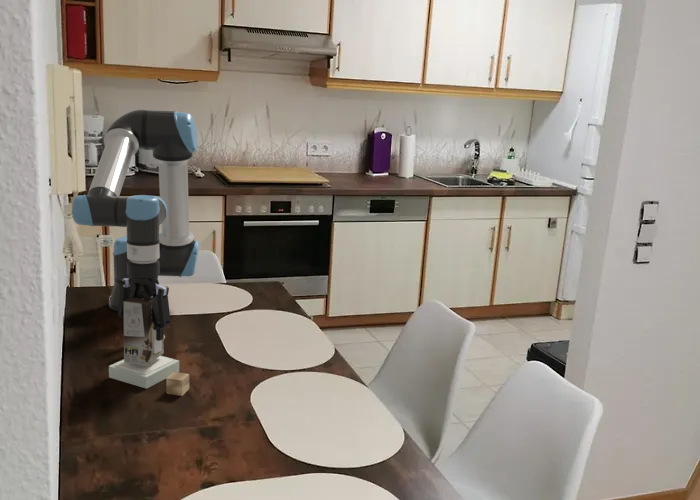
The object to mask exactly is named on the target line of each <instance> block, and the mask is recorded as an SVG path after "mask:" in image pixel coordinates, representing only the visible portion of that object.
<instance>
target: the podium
mask: <svg viewBox="0 0 700 500" xmlns="http://www.w3.org/2000/svg"><path fill="white" fill-rule="evenodd" d="M173 372H179V373H180V360H178V359H175V358H171V357H167V356H163V355H161V356H159V357H158V358H157V359H155V360H154V361H153V362H151V363H150V364H149V365H148V366H141V365H135V364H129V363H124V358H123V359H121V360H119V361H117V362H114V363H113V364H110V365H108V379H109V378H110V379H113V380H117V381H121V382H123V383H127V384H131V385H133V386H137V387H140V388H143V389H149V388H151V387H153V386H155V385H157V384H158V383H160V382H162V381H164V380H166V378H167V377H168V376H170V375H171V374H172V373H173Z"/></svg>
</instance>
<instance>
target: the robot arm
mask: <svg viewBox="0 0 700 500" xmlns="http://www.w3.org/2000/svg"><path fill="white" fill-rule="evenodd" d="M103 144H104V149H103V151H102V154H101V156H100V160H99V162H98V164H97V168H96V170H95V174H94V176H93V177H92V181H91V184H90V186H89V189H88V192H87V194H83V195H82V194H81V195H77V196H75V197H74V199H73V201H72V206H71V208H72V211H71V213H72V218H73V221H74V223H75V224H77V225H79V226H80V225H81V226H90V227H120V228H126V235H125V236H121V237H119V238H117V239H116V240H115V241H114V243H113V252H112V256H113V282H114V283H113V287H112V289H111V293H110V296H109V299H108V308H109V309H110V310H113V311H116V312H118V313H117V316H118V317H119V318H123V319H124V302H123V301H125V300H127V299H129V298H130V297H131V298H134V297H143V298H144V299H145V300H147V301H151V300H154V302H153V305H152V320H153V323H154V326H155V327H153V328H152V353H153V354H155V353H157V352H160V351H162V340H163V338H164V335H165V328H166V327H168V326H170V325H171V324H172V322H171V312H170V304H169V291H170V287H169V286H168V285H165V286H163V285H161V284H160V282H159V277H179V278H182V277H191V276H194V275H195V273H196V270H197V263H198V258H199V251H200V241H198V240H195V236H194V234H193V232H192V231H190V209H189V176H188V175H189V172H188V170H189V169H188V167H189V166H188V163H189V161H190V160H191V159H193V154H194V153H196V152H197V150H198V133H197V127H196V123H195V119H194V117H193V116H192V114H191V113H188V112H180V111H177V110H176V111H169V110H147V109H137V110H135V109H134V110H132V111H130V112H127V113H124V114H123V115H121V116H120V117H119V118H117V119H116V120H115V121H114V122H112V124H110V126H109V127H108V128H107V130H106V132H105V135H104V138H103ZM139 150H141V151H142V150H144V151H152V157H153V159H154V160H156V162H158V184H159V196H156V195H149V194H148V195H147V194H139V195H131V196H121V195H120V194H121V192H122V188H123V185H124V183H125V180H126V175H127V174H128V171H129V167H130V164H131V160H132V157H133V156H134V155H136V153H138V151H139ZM160 228H161V231H160ZM152 296H153V297H152ZM149 297H152V298H149Z"/></svg>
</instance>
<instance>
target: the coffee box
mask: <svg viewBox="0 0 700 500" xmlns="http://www.w3.org/2000/svg"><path fill="white" fill-rule="evenodd" d="M152 297H153V296H152ZM152 297H149V298H152ZM123 302H124V318H123V359H124V363H129V364H135V365H141V366H148V365H149V364H150V363H151V362H153V361H154V360H155V359H157V358H158V357H159V356H163V354H164V353H165V351H164V349H165V348H164V340H165V339H164V338H163V340H162V351H160V352H157V353H155V354H153V353H152V328H153V327H155V326H154V323H153V320H152V305H153V302H154V300H151V301H147V300H145V299H144V298H143V297H134V298H131V297H130V298H129V299H127V300H125V301H123Z"/></svg>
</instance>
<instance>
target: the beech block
mask: <svg viewBox="0 0 700 500" xmlns="http://www.w3.org/2000/svg"><path fill="white" fill-rule="evenodd" d="M165 381H166V383H165V384H166V385H165V386H166V387H165V388H166V395H167V394H168V395H174V396H181V397H182V396H184V395H185V394H186V392H188V391H189V390H190V373H185V372H180V371H179V372H173V373H172V374H171V375H170V376H168V377H167V378H166V379H165Z"/></svg>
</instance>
